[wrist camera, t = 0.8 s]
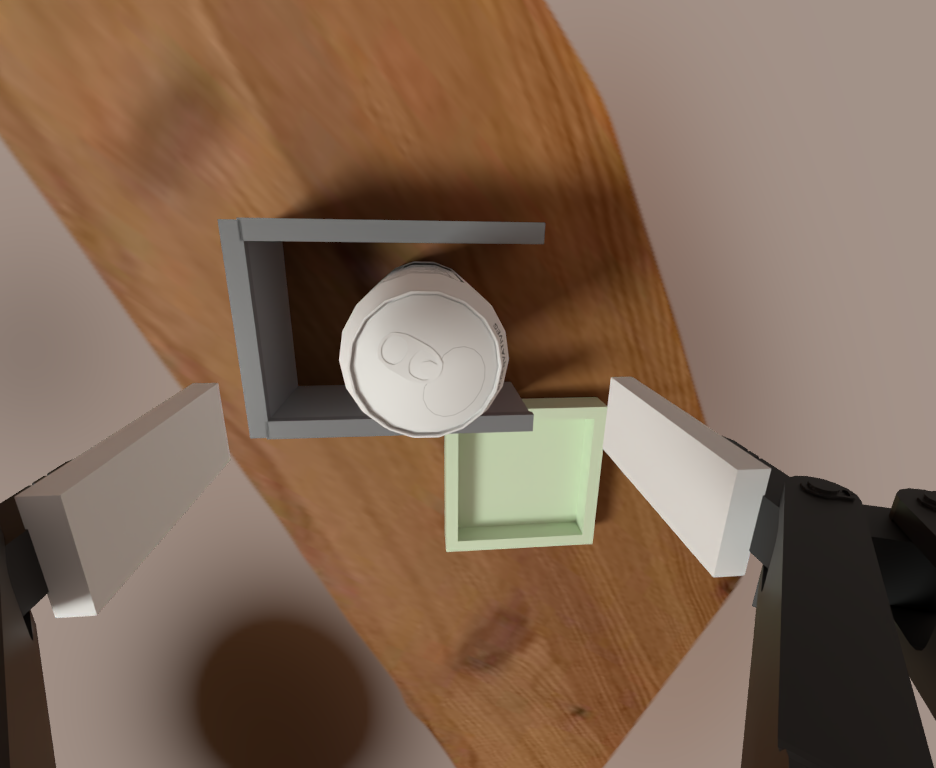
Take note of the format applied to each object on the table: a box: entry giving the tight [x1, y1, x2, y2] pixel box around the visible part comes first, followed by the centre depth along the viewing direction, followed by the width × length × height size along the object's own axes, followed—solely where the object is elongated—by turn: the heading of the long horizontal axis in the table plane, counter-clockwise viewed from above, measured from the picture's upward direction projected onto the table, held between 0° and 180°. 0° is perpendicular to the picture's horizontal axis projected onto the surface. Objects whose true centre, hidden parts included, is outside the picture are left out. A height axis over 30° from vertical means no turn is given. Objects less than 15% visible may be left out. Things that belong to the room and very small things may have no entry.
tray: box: [444, 397, 607, 552], centre depth 38 cm, size 13×13×2 cm
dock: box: [218, 218, 545, 439], centre depth 31 cm, size 13×18×8 cm
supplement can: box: [339, 261, 509, 438], centre depth 27 cm, size 8×8×15 cm
